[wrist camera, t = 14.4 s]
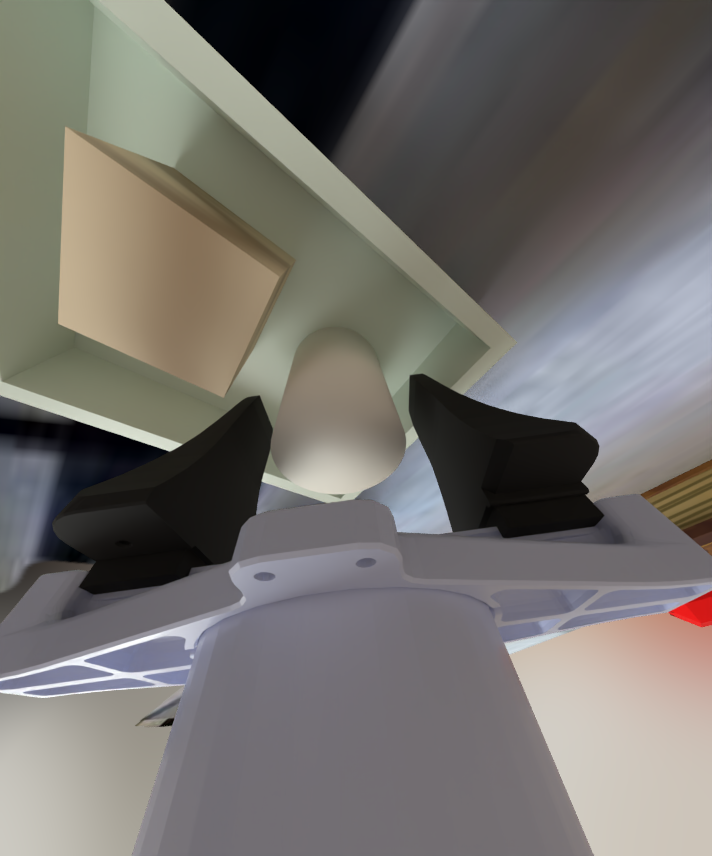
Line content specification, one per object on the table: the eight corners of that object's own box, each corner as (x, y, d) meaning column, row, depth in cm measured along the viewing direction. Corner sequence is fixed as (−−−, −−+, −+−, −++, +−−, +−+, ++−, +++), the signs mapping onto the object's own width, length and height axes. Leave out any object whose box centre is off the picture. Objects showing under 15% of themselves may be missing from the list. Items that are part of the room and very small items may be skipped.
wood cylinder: (301, 409, 16) (287, 499, 11) (284, 330, 13) (252, 401, 8) (378, 402, 17) (401, 488, 11) (378, 323, 14) (411, 387, 8)
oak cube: (147, 291, 12) (57, 323, 8) (174, 167, 9) (64, 125, 6) (253, 349, 14) (223, 397, 10) (296, 259, 12) (279, 276, 8)
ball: (633, 569, 43) (683, 625, 37) (691, 550, 40) (756, 607, 34) (639, 580, 47) (685, 632, 41) (693, 564, 44) (751, 618, 38)
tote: (66, 345, 14) (-25, 386, 10) (82, -47, 7) (-148, -302, 4) (341, 461, 21) (344, 508, 17) (471, 314, 14) (517, 342, 11)
